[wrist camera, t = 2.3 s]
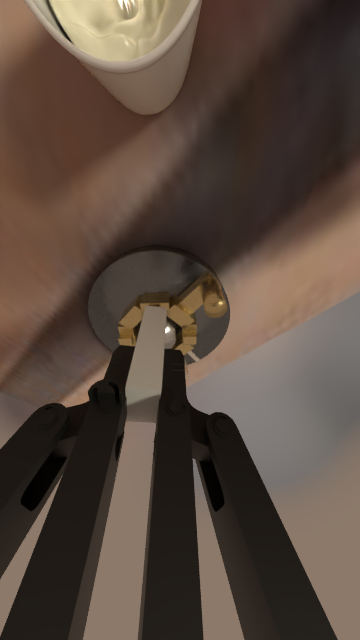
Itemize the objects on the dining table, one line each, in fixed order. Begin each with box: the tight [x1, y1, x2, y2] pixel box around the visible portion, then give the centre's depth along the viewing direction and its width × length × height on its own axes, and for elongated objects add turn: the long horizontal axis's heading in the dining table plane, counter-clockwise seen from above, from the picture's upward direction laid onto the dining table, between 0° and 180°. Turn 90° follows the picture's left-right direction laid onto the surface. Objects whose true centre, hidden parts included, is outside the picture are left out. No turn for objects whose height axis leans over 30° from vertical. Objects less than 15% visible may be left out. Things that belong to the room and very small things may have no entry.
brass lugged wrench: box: [118, 270, 228, 355], centre depth 26 cm, size 17×11×7 cm, turn 137°
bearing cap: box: [88, 246, 230, 379], centre depth 30 cm, size 22×22×7 cm
